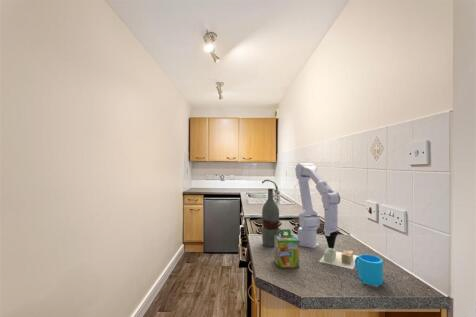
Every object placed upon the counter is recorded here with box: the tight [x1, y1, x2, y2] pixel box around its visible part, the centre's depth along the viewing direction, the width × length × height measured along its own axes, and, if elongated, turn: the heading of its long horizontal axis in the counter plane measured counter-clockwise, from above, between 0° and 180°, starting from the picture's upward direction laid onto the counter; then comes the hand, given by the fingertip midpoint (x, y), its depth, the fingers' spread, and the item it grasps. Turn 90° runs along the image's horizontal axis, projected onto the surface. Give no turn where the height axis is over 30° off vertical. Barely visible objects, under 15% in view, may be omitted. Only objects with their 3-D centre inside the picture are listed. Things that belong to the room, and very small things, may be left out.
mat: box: [318, 251, 359, 270], centre depth 112 cm, size 14×17×1 cm
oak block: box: [341, 249, 354, 265], centre depth 109 cm, size 4×4×7 cm
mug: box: [355, 254, 384, 287], centre depth 95 cm, size 12×8×8 cm
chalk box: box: [273, 228, 300, 269], centre depth 108 cm, size 9×9×15 cm
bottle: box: [261, 188, 280, 248], centre depth 133 cm, size 9×9×30 cm
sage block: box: [323, 247, 337, 262], centre depth 112 cm, size 4×4×7 cm
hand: (331, 247), depth 114 cm, fingers closed
